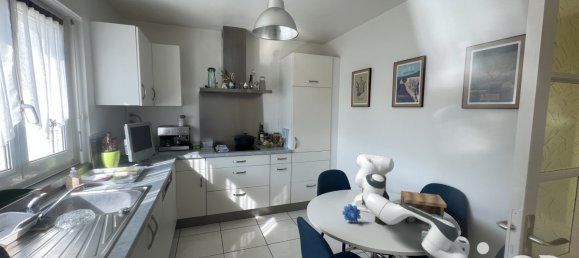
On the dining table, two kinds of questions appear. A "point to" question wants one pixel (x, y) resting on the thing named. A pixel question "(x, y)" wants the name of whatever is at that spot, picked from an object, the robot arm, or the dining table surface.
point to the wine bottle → (387, 199)
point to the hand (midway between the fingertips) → (439, 232)
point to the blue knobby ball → (351, 213)
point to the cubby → (424, 202)
